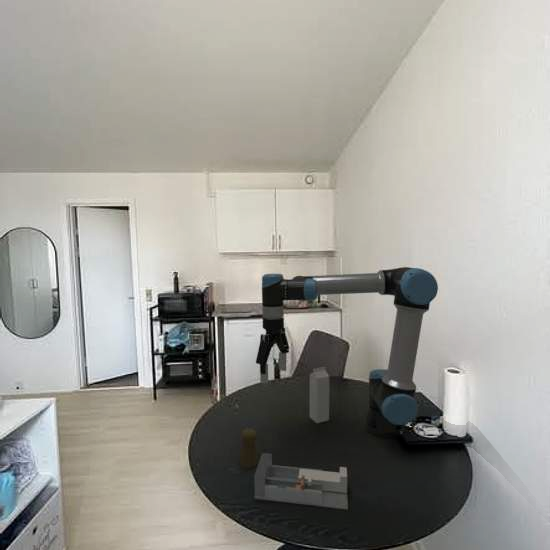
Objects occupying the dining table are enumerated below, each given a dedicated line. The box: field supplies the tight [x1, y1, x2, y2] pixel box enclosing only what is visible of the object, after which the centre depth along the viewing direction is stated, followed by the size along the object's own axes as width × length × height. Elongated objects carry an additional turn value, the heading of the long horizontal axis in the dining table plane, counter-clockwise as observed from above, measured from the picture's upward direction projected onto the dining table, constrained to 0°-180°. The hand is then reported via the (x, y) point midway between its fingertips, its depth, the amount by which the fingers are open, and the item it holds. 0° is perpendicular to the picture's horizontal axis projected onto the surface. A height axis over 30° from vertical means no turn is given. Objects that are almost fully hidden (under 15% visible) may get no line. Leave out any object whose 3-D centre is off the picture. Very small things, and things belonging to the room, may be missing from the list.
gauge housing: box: [254, 452, 349, 510], centre depth 101 cm, size 26×11×7 cm, turn 80°
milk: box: [309, 366, 330, 424], centre depth 144 cm, size 6×6×22 cm
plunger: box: [298, 466, 348, 494], centre depth 100 cm, size 14×7×5 cm, turn 80°
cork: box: [239, 428, 259, 469], centre depth 114 cm, size 6×6×11 cm
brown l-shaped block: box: [296, 475, 305, 489], centre depth 97 cm, size 2×4×5 cm, turn 170°
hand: (274, 376), depth 123 cm, fingers open, 13 cm apart
